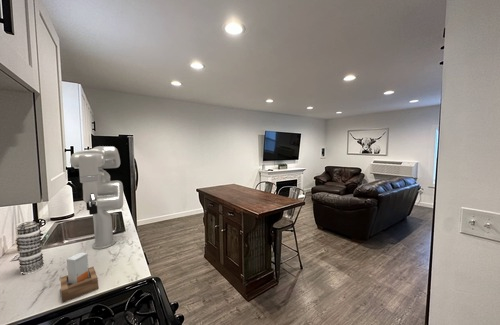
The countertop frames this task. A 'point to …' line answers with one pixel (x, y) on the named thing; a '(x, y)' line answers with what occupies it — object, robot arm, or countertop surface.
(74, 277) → the skincare box
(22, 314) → the countertop surface
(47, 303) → the countertop surface
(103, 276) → the countertop surface
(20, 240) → the decorative candle
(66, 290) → the brown wooden square frame
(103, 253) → the countertop surface
